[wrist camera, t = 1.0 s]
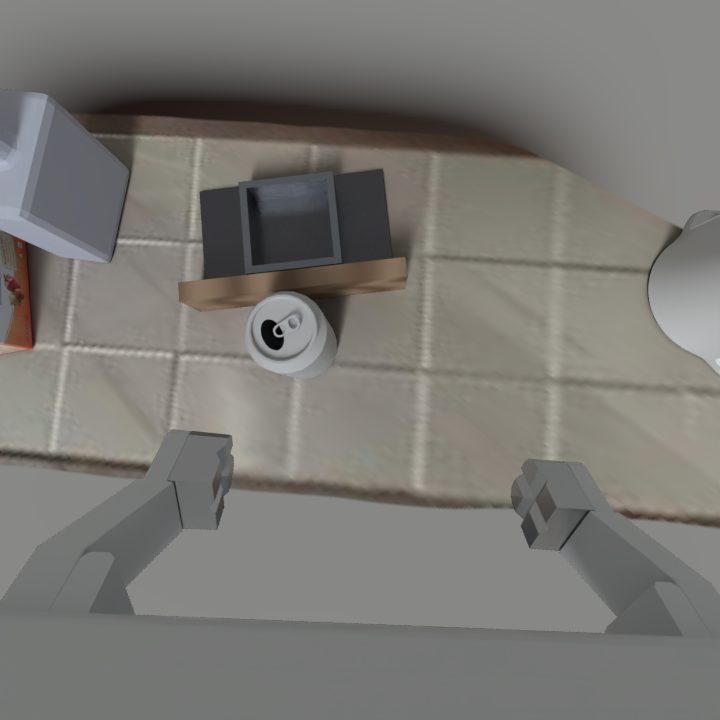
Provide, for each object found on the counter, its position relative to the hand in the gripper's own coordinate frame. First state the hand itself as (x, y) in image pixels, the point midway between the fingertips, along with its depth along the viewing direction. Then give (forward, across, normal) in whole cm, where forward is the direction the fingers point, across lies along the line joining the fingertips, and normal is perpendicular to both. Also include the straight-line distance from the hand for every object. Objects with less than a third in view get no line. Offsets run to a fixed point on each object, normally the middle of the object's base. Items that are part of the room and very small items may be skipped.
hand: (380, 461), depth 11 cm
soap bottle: (+44, +31, +9) cm, 54 cm away
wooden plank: (+36, +5, +12) cm, 38 cm away
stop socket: (+40, +6, +7) cm, 41 cm away
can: (+32, +4, +17) cm, 36 cm away
